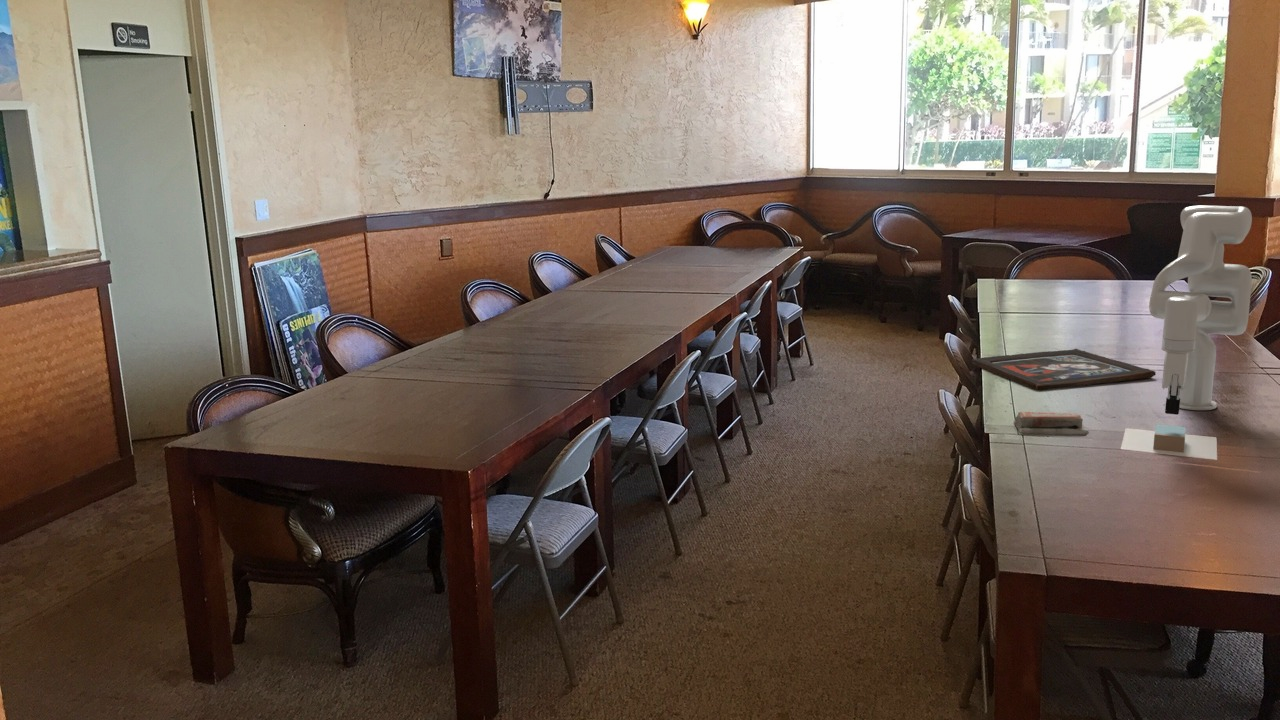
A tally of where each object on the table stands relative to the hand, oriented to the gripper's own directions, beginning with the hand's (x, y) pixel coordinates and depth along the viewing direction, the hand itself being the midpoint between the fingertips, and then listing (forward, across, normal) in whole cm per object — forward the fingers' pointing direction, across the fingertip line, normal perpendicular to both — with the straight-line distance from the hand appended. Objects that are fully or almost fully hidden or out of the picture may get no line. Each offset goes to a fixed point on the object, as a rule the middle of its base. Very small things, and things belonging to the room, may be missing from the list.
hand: (1171, 413), depth 269 cm
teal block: (+6, -3, 0) cm, 7 cm away
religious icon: (+9, -73, -35) cm, 82 cm away
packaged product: (+9, -3, -30) cm, 31 cm away
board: (+9, 0, 0) cm, 9 cm away
